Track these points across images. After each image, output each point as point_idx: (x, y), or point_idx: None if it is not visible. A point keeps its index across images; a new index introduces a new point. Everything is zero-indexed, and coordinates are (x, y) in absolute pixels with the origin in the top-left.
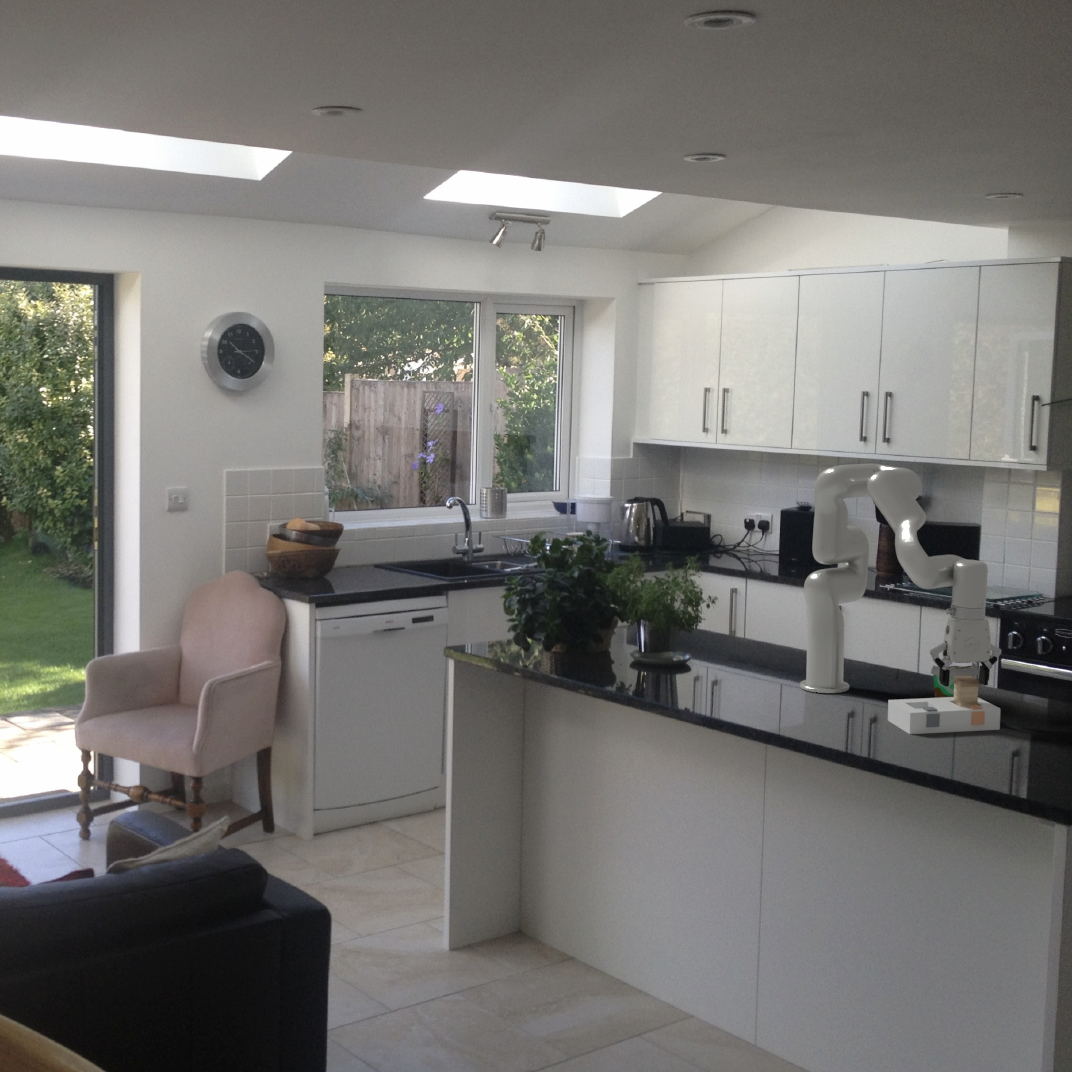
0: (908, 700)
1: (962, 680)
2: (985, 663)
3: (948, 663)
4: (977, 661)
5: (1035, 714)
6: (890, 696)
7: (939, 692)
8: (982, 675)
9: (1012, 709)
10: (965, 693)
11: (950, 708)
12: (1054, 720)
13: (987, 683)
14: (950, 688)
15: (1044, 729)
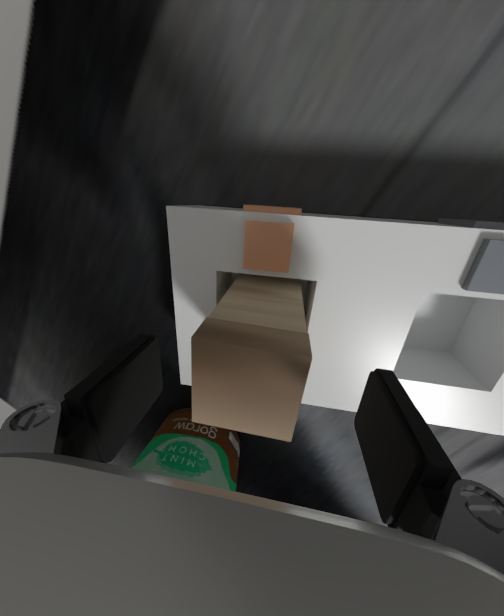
0: (444, 410)
1: (307, 357)
2: (45, 448)
3: (482, 561)
4: (117, 473)
5: (54, 317)
6: (296, 504)
7: (232, 464)
8: (133, 391)
9: (93, 365)
10: (283, 313)
11: (380, 265)
12: (19, 257)
13: (139, 336)
14: (209, 461)
15: (65, 173)
